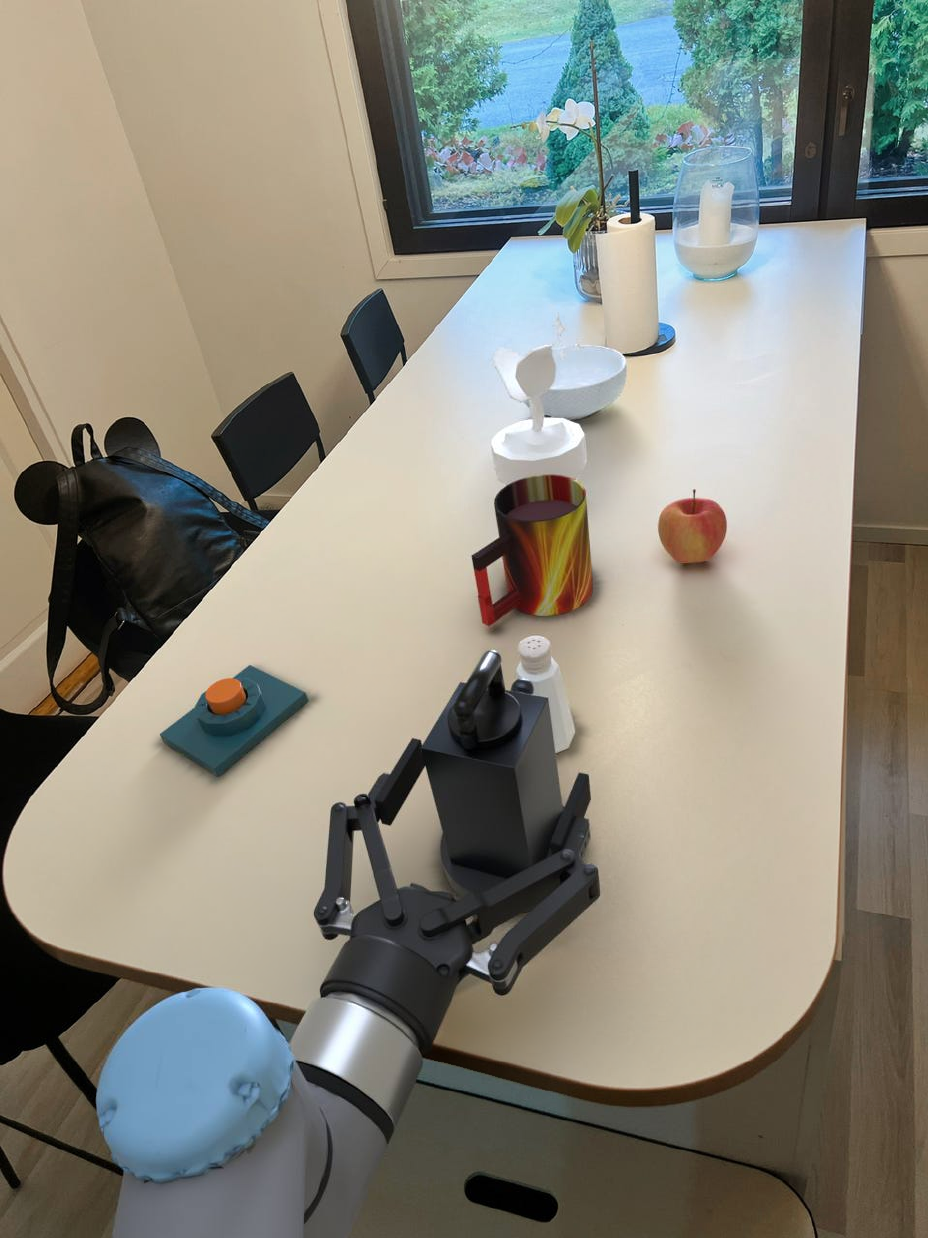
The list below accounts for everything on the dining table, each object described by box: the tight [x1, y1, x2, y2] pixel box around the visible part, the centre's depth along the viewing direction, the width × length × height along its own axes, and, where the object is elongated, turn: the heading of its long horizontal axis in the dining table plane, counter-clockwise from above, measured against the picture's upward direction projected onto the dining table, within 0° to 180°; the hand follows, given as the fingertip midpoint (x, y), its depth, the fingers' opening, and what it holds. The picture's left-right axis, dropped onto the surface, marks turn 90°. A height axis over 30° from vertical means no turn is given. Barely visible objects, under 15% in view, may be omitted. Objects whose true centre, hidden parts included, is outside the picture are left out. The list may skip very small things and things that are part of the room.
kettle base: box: [439, 804, 565, 914], centre depth 70 cm, size 11×11×2 cm
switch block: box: [159, 664, 309, 778], centre depth 88 cm, size 12×9×3 cm
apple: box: [657, 488, 728, 564], centre depth 96 cm, size 7×7×8 cm
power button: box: [205, 677, 246, 715], centre depth 87 cm, size 4×4×2 cm
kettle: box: [421, 649, 563, 878], centre depth 65 cm, size 11×7×17 cm, turn 157°
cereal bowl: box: [523, 345, 628, 421], centre depth 132 cm, size 17×17×7 cm
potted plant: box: [490, 313, 588, 486], centre depth 106 cm, size 13×12×25 cm
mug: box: [471, 475, 594, 628], centre depth 93 cm, size 10×14×12 cm
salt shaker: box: [515, 635, 577, 754], centre depth 77 cm, size 5×5×11 cm
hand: (499, 767), depth 66 cm, fingers open, 13 cm apart
